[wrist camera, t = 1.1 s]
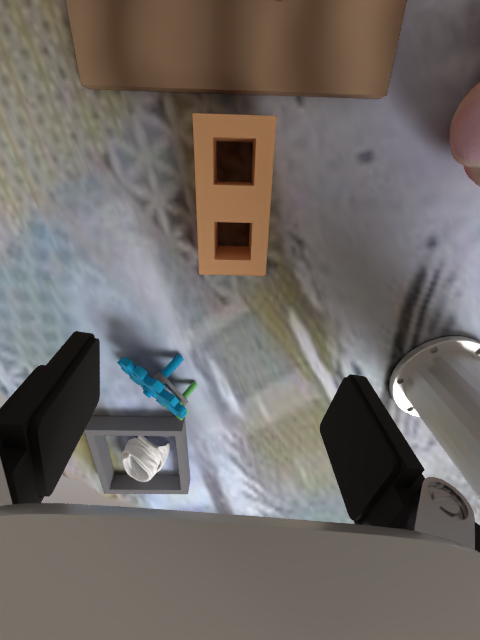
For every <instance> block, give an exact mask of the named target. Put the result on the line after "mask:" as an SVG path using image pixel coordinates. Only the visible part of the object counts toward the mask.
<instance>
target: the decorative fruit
mask: <svg viewBox="0 0 480 640" xmlns="http://www.w3.org/2000/svg"><path fill="white" fill-rule="evenodd" d="M450 146H451V151H452V155H453V157H454V159H455V160H456V161H457V162H458V163H460V164H462V165H463V166H464V169H465V172H466V174H467V175H468V177H469V178H470V179H471V180H472V181H474V182H475V183H476V184H477V185H479V186H480V82H479V83H478V84H477V85H476V86H475V87H474V88H472V89H471V90H470V91H469V93H468V94H467V95H466V96H465V97H464V99H463V100H462V101H461V103H460V104H459V106H458V108H457V110H456V112H455V114H454V116H453V119H452V122H451V127H450Z"/></svg>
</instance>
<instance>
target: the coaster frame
mask: <svg viewBox="0 0 480 640" xmlns="http://www.w3.org/2000/svg"><path fill="white" fill-rule="evenodd" d="M84 431H85V434H86V438H87V441H88V444H89V447H90V450H91V453H92V457H93V460H94V463H95V466H96V469H97V472H98V475H99V479H100V482H101V485H102V488H103V491H104V494H188V490H189V484H190V471H189V459H188V448H187V436H186V425H185V417H184V418H183V420H182V421H181V420H180V419H178V418H177V417H141V416H92V417H91V419H90V421H89V423H88V424H87V426H86V428H85V430H84ZM105 436H175V440H176V449H177V458H178V467H179V475H154V476H153V477H152V479H151V480H149V481H147V482H140V481H137V480H135V479H134V478H133V477H131V476H129V475H115V471H114V467H113V464H112V460H111V456H110V453H109V449H108V445H107V442H106V438H105Z"/></svg>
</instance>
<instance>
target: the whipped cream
mask: <svg viewBox="0 0 480 640" xmlns="http://www.w3.org/2000/svg"><path fill="white" fill-rule="evenodd" d="M169 452H170V444H169V442H167V444H166V445H164V446H160V445H158V446H155V445H154V444H153V443H150V442H149V441H148V440H147V439H146V438H145V437H144V436H138V439H137V438H131V439H129V440H128V442H127V444H126V445H125V450H124V451H123V453H122V460H123V461H122V462H123V466H124V468H125V470H126V472H127V474H128V475H129V476H131V477H133V478H134V479H135V480H137V481H140V482H147V481H149V480H151V479H152V477H153V476H154V475H155V474H156V473H157V472H158V471H160V470H161V468H162V467H163V465H164V464H165V460H166V458H167V457H168V454H169ZM136 462H137V463H136Z"/></svg>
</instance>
